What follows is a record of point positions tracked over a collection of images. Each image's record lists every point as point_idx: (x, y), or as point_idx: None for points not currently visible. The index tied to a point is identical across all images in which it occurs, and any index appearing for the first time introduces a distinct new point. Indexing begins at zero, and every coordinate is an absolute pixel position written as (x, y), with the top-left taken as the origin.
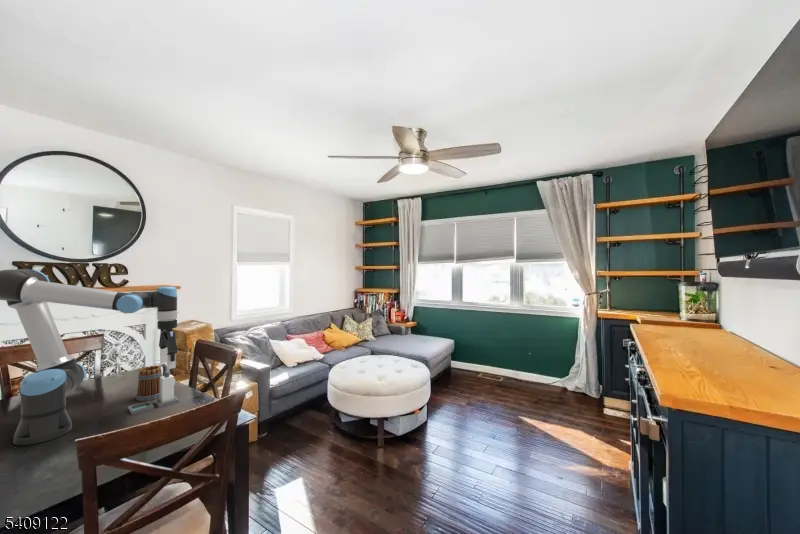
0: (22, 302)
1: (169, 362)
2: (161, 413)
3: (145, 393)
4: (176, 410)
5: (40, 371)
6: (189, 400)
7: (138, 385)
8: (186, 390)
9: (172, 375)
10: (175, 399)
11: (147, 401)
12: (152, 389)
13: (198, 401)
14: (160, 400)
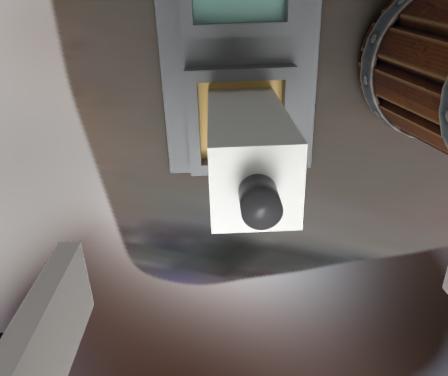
0: None
1: (24, 310)
2: (112, 64)
3: (409, 28)
4: (105, 135)
5: None
6: None
7: None
8: (387, 236)
9: (261, 231)
10: None
11: (298, 21)
12: (395, 75)
13: (164, 242)
14: (254, 91)
